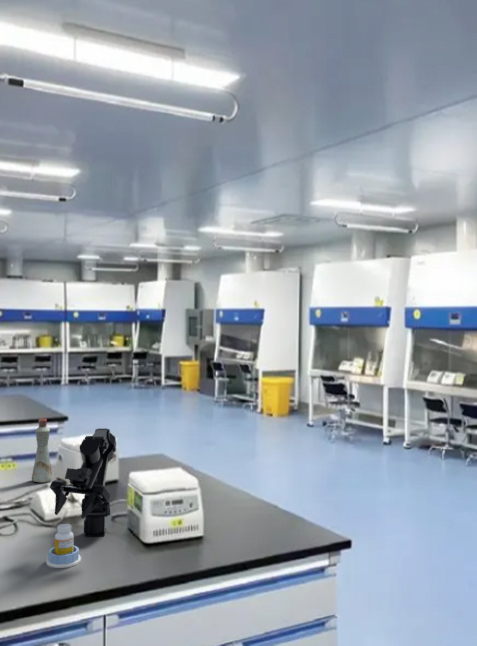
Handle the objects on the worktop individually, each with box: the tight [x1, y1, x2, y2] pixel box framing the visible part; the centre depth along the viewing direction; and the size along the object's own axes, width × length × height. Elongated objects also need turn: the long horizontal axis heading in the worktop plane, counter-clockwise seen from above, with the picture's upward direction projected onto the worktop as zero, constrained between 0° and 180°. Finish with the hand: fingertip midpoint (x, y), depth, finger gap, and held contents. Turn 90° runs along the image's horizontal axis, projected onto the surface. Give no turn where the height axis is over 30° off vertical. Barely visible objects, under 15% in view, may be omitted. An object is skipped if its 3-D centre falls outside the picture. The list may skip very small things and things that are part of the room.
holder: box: [45, 544, 82, 569], centre depth 183 cm, size 10×10×3 cm
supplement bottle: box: [54, 523, 74, 555], centre depth 183 cm, size 5×5×10 cm
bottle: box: [31, 417, 53, 484], centre depth 270 cm, size 9×9×28 cm
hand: (68, 516), depth 185 cm, fingers open, 9 cm apart
